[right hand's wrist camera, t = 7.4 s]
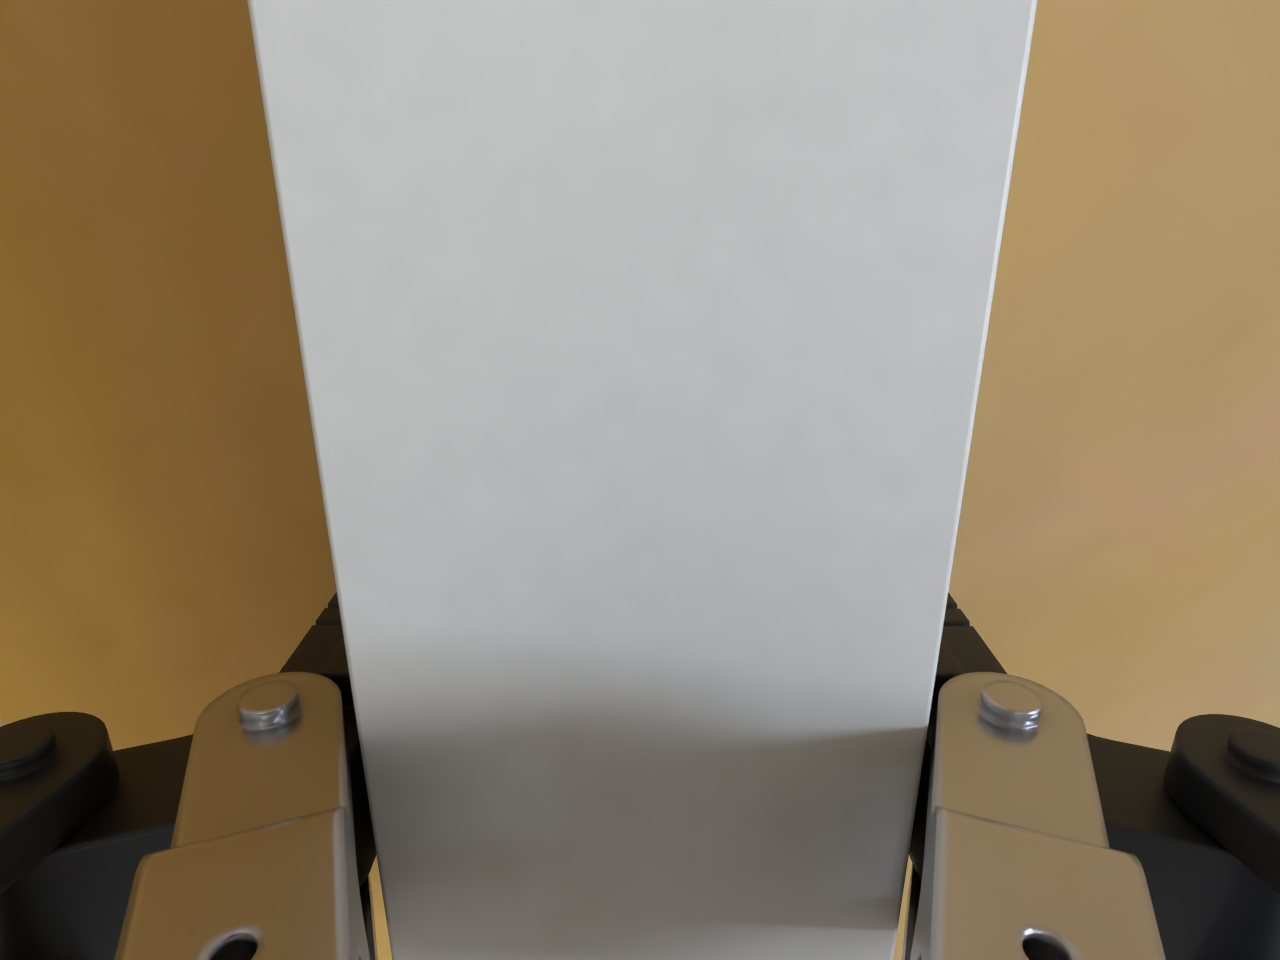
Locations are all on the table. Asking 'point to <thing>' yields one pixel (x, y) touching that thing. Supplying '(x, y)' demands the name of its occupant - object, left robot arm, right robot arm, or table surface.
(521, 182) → the bar
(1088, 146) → the table surface
